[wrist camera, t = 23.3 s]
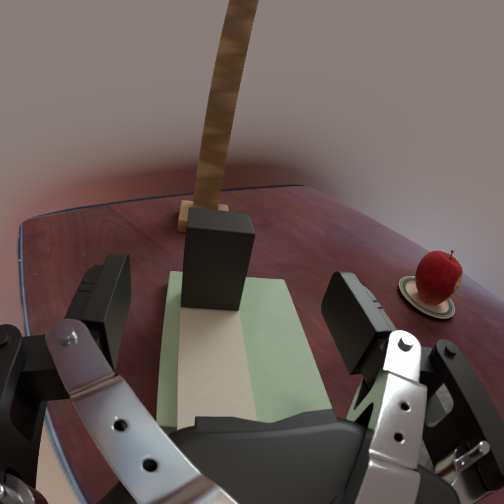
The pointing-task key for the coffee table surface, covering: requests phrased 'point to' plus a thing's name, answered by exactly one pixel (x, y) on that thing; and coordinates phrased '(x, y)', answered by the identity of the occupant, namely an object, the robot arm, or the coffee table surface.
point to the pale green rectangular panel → (252, 354)
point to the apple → (433, 284)
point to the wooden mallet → (214, 318)
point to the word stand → (221, 108)
